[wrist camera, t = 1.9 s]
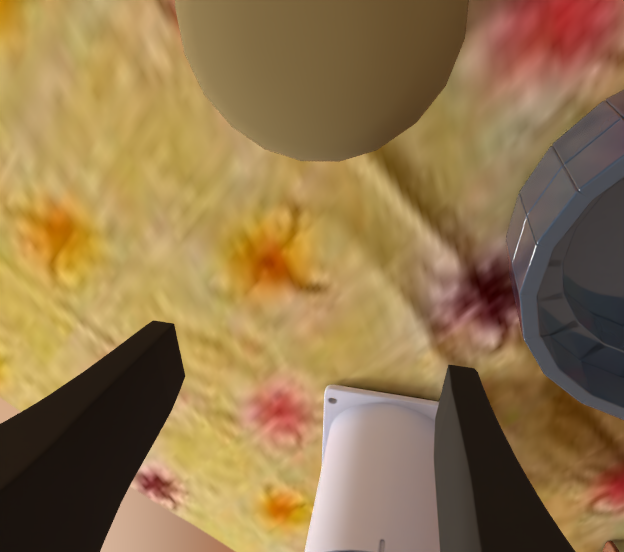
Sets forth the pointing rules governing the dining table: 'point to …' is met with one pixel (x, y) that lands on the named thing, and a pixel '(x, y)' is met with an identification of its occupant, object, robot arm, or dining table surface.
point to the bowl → (575, 259)
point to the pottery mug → (610, 547)
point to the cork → (322, 68)
